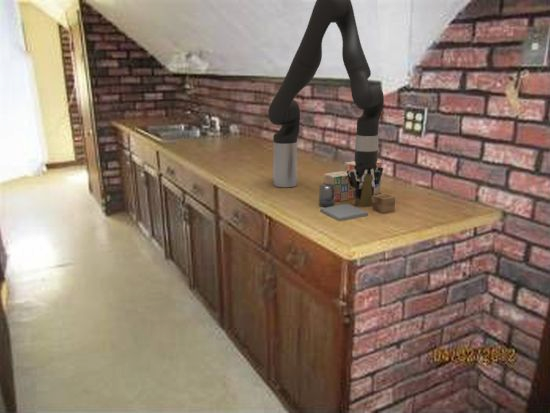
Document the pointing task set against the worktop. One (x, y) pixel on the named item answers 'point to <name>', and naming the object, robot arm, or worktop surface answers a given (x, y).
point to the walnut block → (383, 203)
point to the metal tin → (326, 195)
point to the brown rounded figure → (365, 192)
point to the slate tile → (343, 212)
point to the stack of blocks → (345, 183)
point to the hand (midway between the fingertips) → (364, 197)
